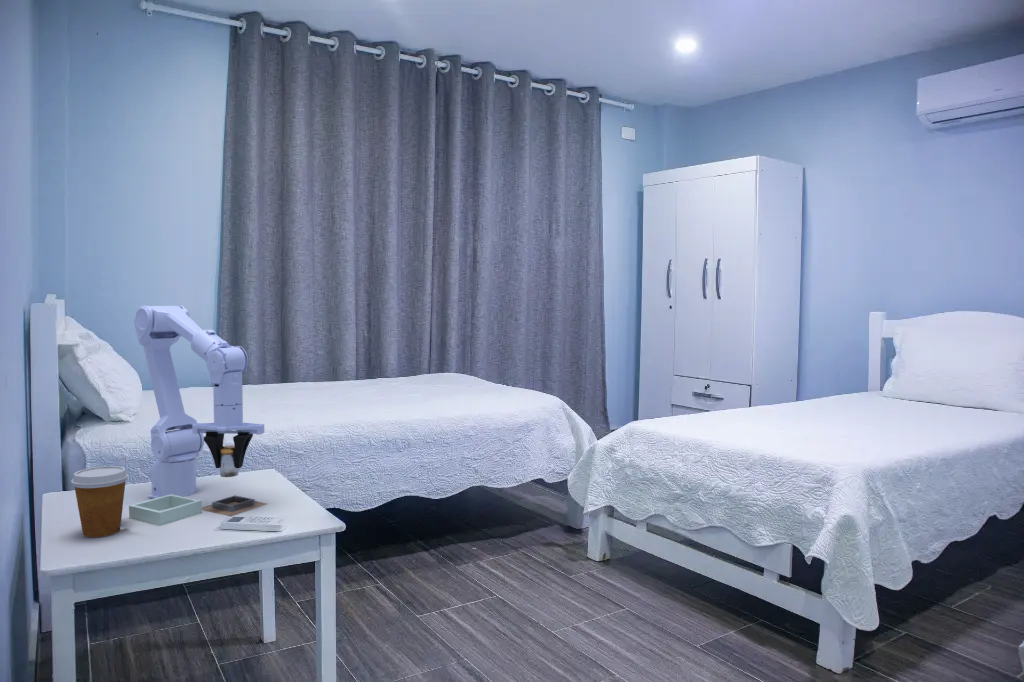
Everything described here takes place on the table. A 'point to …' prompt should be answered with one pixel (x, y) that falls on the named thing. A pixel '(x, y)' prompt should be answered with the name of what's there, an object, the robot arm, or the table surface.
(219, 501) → the socket plate
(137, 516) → the bin
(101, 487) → the disposable coffee cup
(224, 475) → the metal can
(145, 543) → the table surface
